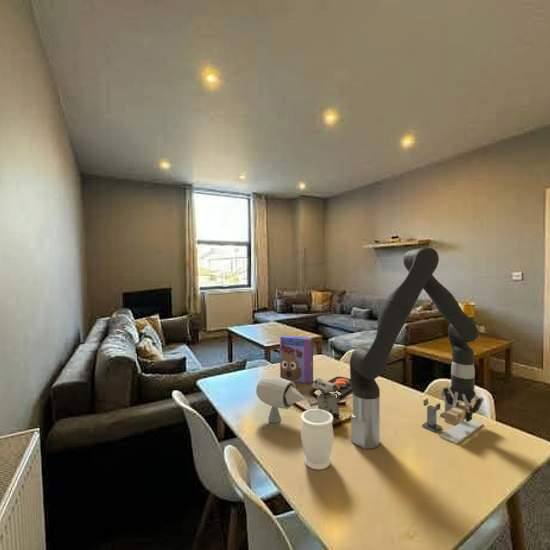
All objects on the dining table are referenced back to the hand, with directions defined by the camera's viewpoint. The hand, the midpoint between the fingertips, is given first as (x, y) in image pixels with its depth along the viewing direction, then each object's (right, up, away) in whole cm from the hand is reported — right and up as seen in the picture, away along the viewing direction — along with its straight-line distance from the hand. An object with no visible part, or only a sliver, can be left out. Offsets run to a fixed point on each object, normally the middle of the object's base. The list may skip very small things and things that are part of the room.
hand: (462, 418), depth 117 cm
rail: (0, +1, 0) cm, 1 cm away
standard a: (-10, -5, +3) cm, 12 cm away
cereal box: (-59, -4, +52) cm, 79 cm away
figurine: (-50, -5, +12) cm, 52 cm away
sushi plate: (-34, -4, +35) cm, 49 cm away
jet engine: (-70, -5, +8) cm, 70 cm away
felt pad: (0, -5, 0) cm, 5 cm away
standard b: (+1, -4, +11) cm, 12 cm away
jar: (-58, -6, -17) cm, 60 cm away
